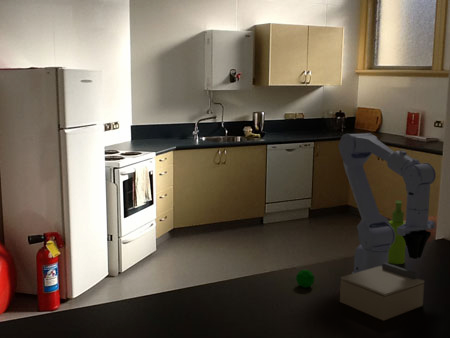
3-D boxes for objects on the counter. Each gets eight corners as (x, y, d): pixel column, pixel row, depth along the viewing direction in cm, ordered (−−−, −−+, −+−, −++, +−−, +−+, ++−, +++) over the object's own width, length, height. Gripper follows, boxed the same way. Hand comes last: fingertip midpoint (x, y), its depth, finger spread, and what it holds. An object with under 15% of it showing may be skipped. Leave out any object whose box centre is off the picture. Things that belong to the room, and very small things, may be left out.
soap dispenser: (404, 258, 177) (408, 199, 174) (404, 265, 171) (408, 204, 168) (386, 256, 179) (389, 198, 176) (385, 262, 173) (389, 202, 170)
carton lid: (340, 278, 140) (341, 271, 140) (379, 267, 149) (380, 260, 149) (385, 296, 129) (385, 287, 128) (424, 282, 138) (424, 274, 138)
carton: (339, 301, 141) (340, 279, 140) (378, 289, 150) (379, 268, 149) (383, 320, 130) (384, 297, 129) (422, 305, 139) (424, 283, 138)
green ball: (316, 289, 149) (316, 273, 148) (299, 290, 148) (299, 274, 148) (310, 283, 154) (311, 267, 153) (294, 283, 153) (294, 267, 153)
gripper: (414, 214, 136) (411, 265, 138) (446, 207, 145) (443, 256, 146) (391, 209, 142) (388, 259, 144) (423, 203, 150) (420, 250, 152)
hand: (414, 257), depth 145 cm, fingers closed
